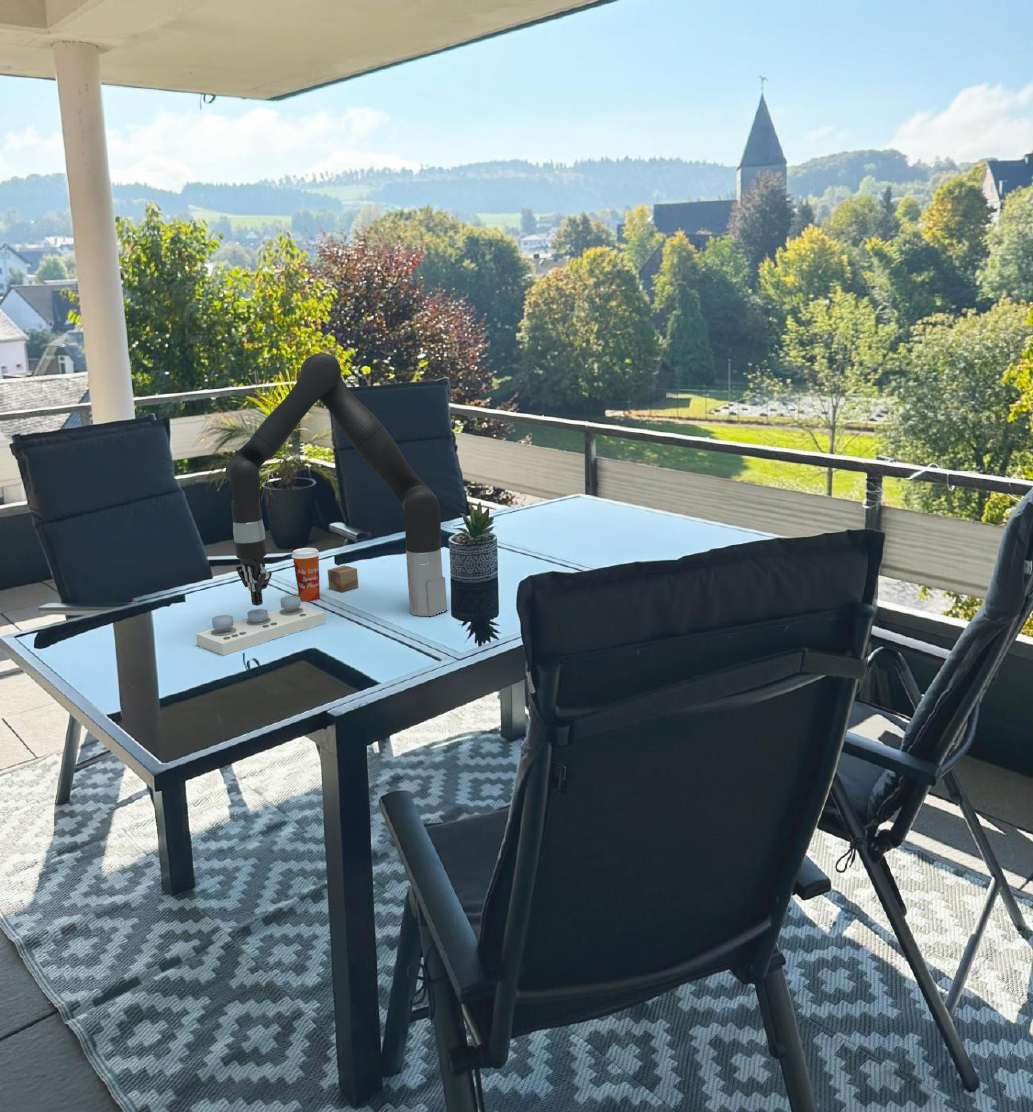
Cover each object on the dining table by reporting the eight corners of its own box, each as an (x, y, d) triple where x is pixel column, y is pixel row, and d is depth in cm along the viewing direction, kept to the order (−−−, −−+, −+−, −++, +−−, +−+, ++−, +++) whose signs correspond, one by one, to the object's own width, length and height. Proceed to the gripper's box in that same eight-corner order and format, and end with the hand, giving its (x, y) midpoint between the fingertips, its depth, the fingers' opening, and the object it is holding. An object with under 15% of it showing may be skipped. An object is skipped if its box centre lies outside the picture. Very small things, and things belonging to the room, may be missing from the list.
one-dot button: (304, 605, 261) (303, 598, 260) (288, 610, 257) (287, 602, 257) (293, 602, 264) (292, 594, 263) (277, 606, 260) (276, 599, 260)
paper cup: (300, 604, 278) (295, 555, 274) (292, 597, 284) (288, 549, 281) (327, 599, 281) (323, 551, 277) (319, 592, 288) (315, 545, 284)
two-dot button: (272, 618, 254) (271, 611, 253) (255, 623, 250) (254, 616, 250) (261, 615, 257) (260, 607, 257) (244, 620, 254) (243, 612, 253)
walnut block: (358, 588, 291) (356, 568, 290) (342, 593, 287) (340, 573, 285) (345, 584, 295) (344, 565, 294) (329, 589, 291) (327, 569, 289)
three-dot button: (237, 625, 247) (236, 617, 246) (219, 630, 243) (218, 622, 243) (226, 621, 250) (225, 613, 249) (208, 626, 246) (207, 618, 246)
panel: (325, 623, 260) (324, 611, 259) (223, 655, 239) (222, 642, 238) (298, 614, 268) (297, 603, 267) (197, 645, 247) (195, 632, 246)
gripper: (277, 538, 247) (285, 605, 251) (248, 531, 255) (255, 596, 260) (251, 544, 241) (259, 613, 246) (222, 537, 250) (230, 603, 254)
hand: (257, 604), depth 253 cm, fingers closed
